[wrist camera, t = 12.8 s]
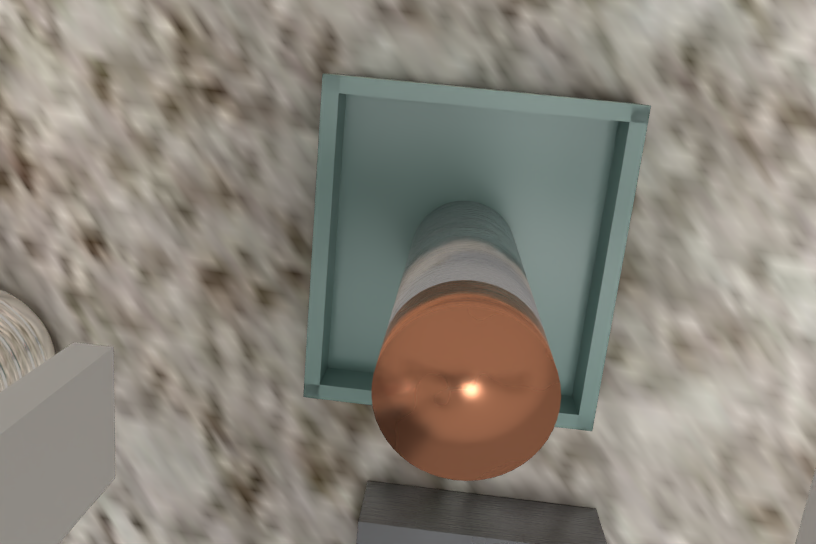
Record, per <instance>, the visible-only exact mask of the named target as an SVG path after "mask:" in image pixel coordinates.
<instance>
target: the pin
mask: <svg viewBox="0 0 816 544" xmlns="http://www.w3.org/2000/svg"><path fill="white" fill-rule="evenodd" d="M371 397H372V405H373V411H374V414H375V418H376V421H377V423H378V425H379V428H380V430H381V432H382V433H383V435H384V437H385V438H386V440H387V441H388V443H389V444H390V445H391V446H392V448H393V449H394V450H395V451H396V452H397V453H398V454H399V455H400V456H401V457H403V458H404V459H405V460H407V461H408V462H409V463H410V464H412V465H414V466H415V467H417V468H419V469H421V470H423V471H425V472H427V473H430V474H432V475H435V476H439V477H442V478H447V479H452V480H463V481H472V480H482V479H488V478H493V477H496V476H499V475H503V474H505V473H507V472H509V471H512V470H514V469H515V468H517V467H519V466H521V465H522V464H524V463H525V462H526V461H528V460H529V459H530V458H532V457H533V456H534V455H535V454H536V453H537V452H538V451H539V450H540V449H541V447H542V446H543V445H544V443H545V442H546V441H547V440H548V438H549V436H550V434H551V432H552V431H553V429H554V426H555V424H556V421H557V418H558V414H559V410H560V403H561V386H560V380H559V375H558V371H557V368H556V365H555V362H554V359H553V356H552V353H551V350H550V347H549V344H548V341H547V338H546V335H545V332H544V329H543V325H542V322H541V319H540V316H539V313H538V310H537V307H536V304H535V301H534V298H533V295H532V292H531V289H530V286H529V283H528V280H527V276H526V273H525V270H524V267H523V264H522V261H521V258H520V255H519V252H518V249H517V246H516V243H515V240H514V237H513V234H512V231H511V229H510V227H509V225H508V224H507V223H506V221H505V220H504V219H503V218H502V216H501V215H500V214H498V213H497V212H496V211H495V210H493V209H492V208H490V207H488V206H486V205H484V204H481V203H478V202H473V201H455V202H450V203H447V204H444V205H442V206H440V207H438V208H436V209H435V210H433V211H432V212H430V213H429V214H428V215H427V216H426V217H425V218H424V219H423V221H422V222H421V223H420V225H419V227H418V228H417V230H416V233H415V235H414V239H413V242H412V245H411V249H410V252H409V256H408V259H407V262H406V266H405V269H404V272H403V276H402V279H401V283H400V286H399V289H398V293H397V296H396V300H395V303H394V306H393V310H392V313H391V317H390V320H389V323H388V327H387V330H386V334H385V337H384V340H383V344H382V347H381V351H380V354H379V357H378V361H377V364H376V368H375V371H374V374H373V380H372V394H371Z"/></svg>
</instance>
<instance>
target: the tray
mask: <svg viewBox="0 0 816 544" xmlns="http://www.w3.org/2000/svg"><path fill="white" fill-rule="evenodd" d="M650 108H651V106H649V105H643V104H636V103H628V102H618V101H607V100H597V99H587V98H577V97H567V96H556V95H546V94H536V93H526V92H516V91H505V90H495V89H485V88H475V87H464V86H454V85H444V84H434V83H424V82H413V81H403V80H393V79H383V78H372V77H362V76H352V75H342V74H323V75H322V92H321V109H320V126H319V143H318V160H317V177H316V194H315V211H314V228H313V244H312V261H311V278H310V295H309V312H308V329H307V346H306V363H305V380H304V397H308V398H316V399H324V400H333V401H341V402H350V403H358V404H367V405H372V397H371V394H372V380H373V374H374V371H375V368H376V364H377V361H378V357H379V354H380V351H381V347H382V344H383V340H384V337H385V334H386V330H387V327H388V323H389V320H390V317H391V313H392V310H393V306H394V303H395V300H396V296H397V293H398V289H399V286H400V283H401V279H402V276H403V272H404V269H405V266H406V262H407V259H408V256H409V252H410V249H411V245H412V242H413V239H414V235H415V233H416V230H417V228H418V227H419V225H420V223H421V222H422V221H423V219H424V218H425V217H426V216H427V215H428V214H429V213H430V212H432V211H433V210H435V209H436V208H438V207H440V206H442V205H444V204H447V203H450V202H455V201H473V202H478V203H481V204H484V205H486V206H488V207H490V208H492V209H493V210H495V211H496V212H497V213H498V214H500V215H501V216H502V218H503V219H504V220H505V221H506V223H507V224H508V225H509V227H510V229H511V231H512V234H513V237H514V240H515V243H516V246H517V249H518V252H519V255H520V258H521V261H522V264H523V267H524V270H525V273H526V276H527V280H528V283H529V286H530V289H531V292H532V295H533V298H534V301H535V304H536V307H537V310H538V313H539V316H540V319H541V322H542V325H543V329H544V332H545V335H546V338H547V341H548V344H549V347H550V350H551V353H552V356H553V359H554V362H555V365H556V368H557V371H558V375H559V380H560V386H561V403H560V410H559V414H558V418H557V421H556V424H555V426H554V427H561V428H569V429H578V430H586V431H592V429H593V424H594V418H595V413H596V407H597V402H598V396H599V390H600V385H601V379H602V374H603V368H604V363H605V357H606V352H607V346H608V341H609V335H610V330H611V324H612V319H613V313H614V308H615V302H616V296H617V291H618V285H619V280H620V274H621V269H622V263H623V258H624V252H625V247H626V241H627V236H628V230H629V225H630V219H631V213H632V208H633V202H634V197H635V191H636V186H637V180H638V175H639V169H640V164H641V158H642V153H643V147H644V142H645V136H646V131H647V125H648V119H649V114H650Z"/></svg>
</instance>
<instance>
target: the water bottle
mask: <svg viewBox="0 0 816 544" xmlns="http://www.w3.org/2000/svg"><path fill="white" fill-rule="evenodd" d="M54 355H56V353H55V349H54V345H53V342H52V339H51V337H50V335H49V333H48V331H47V329H46V327H45V326H44V324H43V323H42V321H41V320H40V318H39V317H38V316H37V315H36V314H35V313H34V312H33V311H32V309H30V308H29V307H28V306H27V305H26V304H25V303H24V302H22V301H21V300H19V299H18V298H17V297H15V296H13V295H11V294H10V293H8V292H6V291H3V290H1V289H0V392H1V391H3V390H4V389H6V388H7V387H9V386H10V385H11V384H13V383H14V382H16V381H17V380H19V379H20V378H22V377H23V376H25V375H26V374H28V373H29V372H31V371H32V370H34V369H35V368H36V367H38V366H39V365H41V364H42V363H44V362H45V361H47V360H48V359H50V358H51V357H53V356H54Z"/></svg>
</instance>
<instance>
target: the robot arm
mask: <svg viewBox="0 0 816 544" xmlns="http://www.w3.org/2000/svg"><path fill="white" fill-rule="evenodd" d="M114 479H115V409H114V347H111V346H102V345H93V344H85V343H76V342H73V343H72V344H70V345H69V346H67V347H66V348H64V349H63V350H61V351H60V352H59V353H57V354H56V355H54V356H53V357H51V358H50V359H48V360H47V361H45V362H44V363H42V364H41V365H39V366H38V367H36V368H35V369H34V370H32V371H31V372H29V373H28V374H26V375H25V376H23V377H22V378H20V379H19V380H17V381H16V382H14V383H13V384H11V385H10V386H9V387H7V388H6V389H4V390H3V391H1V392H0V544H59V543H60V542H61V541H62V539H63V538H64V537H65V536H66V535H67V534H68V532H69V531H70V530H71V529H72V528H73V527H74V525H75V524H76V523H77V522H78V521H79V520H80V518H81V517H82V516H83V515H84V514H85V513H86V511H87V510H88V509H89V508H90V507H91V506H92V504H93V503H94V502H95V501H96V500H97V499H98V497H99V496H100V495H101V494H102V493H103V492H104V490H105V489H106V488H107V487H108V486H109V485H110V483H111V482H112V481H113V480H114ZM795 544H816V469H815V473H814V476H813V480H812V484H811V487H810V491H809V495H808V498H807V502H806V506H805V510H804V513H803V517H802V521H801V524H800V528H799V532H798V535H797V539H796V543H795Z"/></svg>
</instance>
